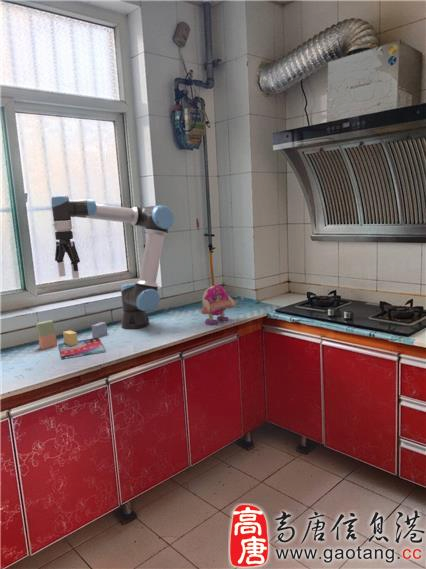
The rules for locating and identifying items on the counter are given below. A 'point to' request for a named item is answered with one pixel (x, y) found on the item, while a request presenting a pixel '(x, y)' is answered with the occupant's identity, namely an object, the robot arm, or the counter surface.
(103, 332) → the slate brick
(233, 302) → the toy
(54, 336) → the terracotta brick
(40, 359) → the counter surface
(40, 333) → the green brick
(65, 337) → the mustard brick
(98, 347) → the magazine
